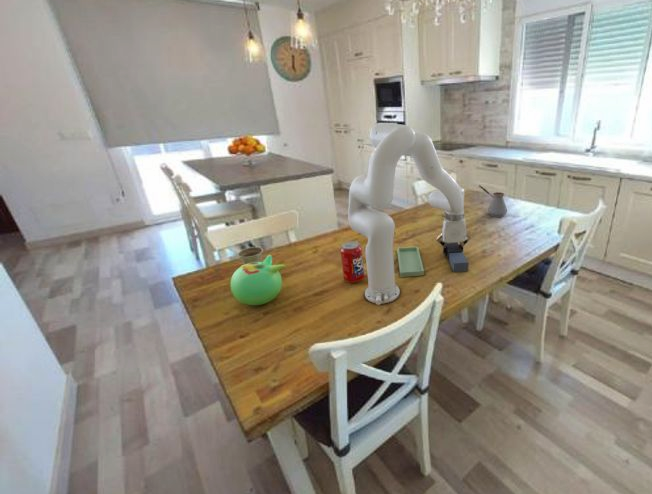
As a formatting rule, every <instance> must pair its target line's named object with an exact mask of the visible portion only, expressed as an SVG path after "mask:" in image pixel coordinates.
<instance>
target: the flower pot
mask: <svg viewBox="0 0 652 494" xmlns="http://www.w3.org/2000/svg"><path fill="white" fill-rule="evenodd" d="M263 252H264V248H263V247H261V246H252V247H251V246H250V247H245V248H243V249H241V250H240V251H238V253H237V257H238V258H239V259H240V260H241V262H242V265H245V264H248V263H252V262H263Z"/></svg>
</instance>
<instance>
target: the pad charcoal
mask: <svg viewBox="0 0 652 494" xmlns="http://www.w3.org/2000/svg"><path fill="white" fill-rule="evenodd" d="M459 244H460V243H459V242H454V243H448V244H447V256H446V258H447V261H449V253H462V250H461V248H460V246H459Z"/></svg>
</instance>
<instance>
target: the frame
mask: <svg viewBox="0 0 652 494" xmlns="http://www.w3.org/2000/svg"><path fill="white" fill-rule="evenodd" d="M396 253H397V260H398V261H397V262H398V268H399V269H398V270H399V277H400V278H405V277H406V278H407V277H419V276H425V269H424V264H423V262H422V257H421V253H420V250H419V246H404V247H397V248H396Z"/></svg>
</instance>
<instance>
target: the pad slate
mask: <svg viewBox="0 0 652 494" xmlns="http://www.w3.org/2000/svg"><path fill="white" fill-rule="evenodd" d="M448 262H449V264H450V267H451V269H452V271H453V273H458V272H460V273H461V272H468V271H469V261H468V259H467V257H466V255H465V253H464V251H463V252H462V253H449V260H448Z"/></svg>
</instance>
